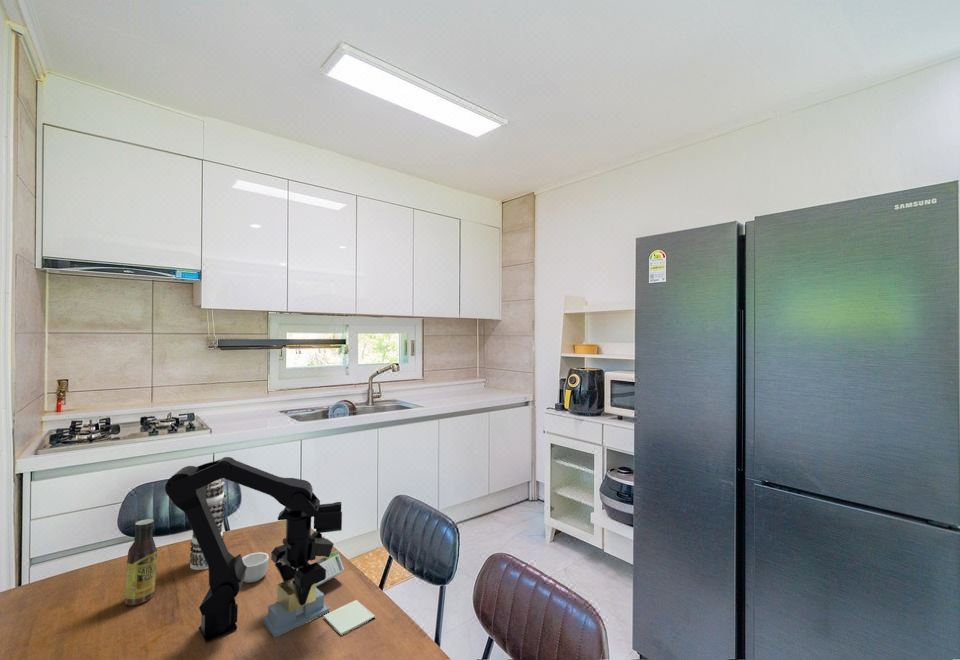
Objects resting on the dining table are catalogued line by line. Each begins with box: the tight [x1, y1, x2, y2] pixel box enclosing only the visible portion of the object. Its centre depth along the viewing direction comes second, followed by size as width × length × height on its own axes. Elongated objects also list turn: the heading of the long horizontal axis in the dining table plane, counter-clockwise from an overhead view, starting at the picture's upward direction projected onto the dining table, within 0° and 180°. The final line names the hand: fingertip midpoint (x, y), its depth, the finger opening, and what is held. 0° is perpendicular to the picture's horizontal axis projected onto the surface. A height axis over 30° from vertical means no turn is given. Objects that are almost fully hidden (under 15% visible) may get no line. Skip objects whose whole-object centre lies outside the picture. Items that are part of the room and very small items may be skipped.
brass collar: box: [276, 578, 317, 612], centre depth 105 cm, size 7×7×4 cm
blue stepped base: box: [262, 581, 330, 638], centre depth 105 cm, size 13×8×8 cm, turn 136°
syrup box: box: [281, 550, 346, 588], centre depth 116 cm, size 6×6×14 cm
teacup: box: [242, 551, 270, 584], centre depth 122 cm, size 10×8×5 cm
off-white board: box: [322, 599, 376, 636], centre depth 105 cm, size 9×9×1 cm
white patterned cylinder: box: [189, 479, 227, 571], centre depth 130 cm, size 9×9×25 cm
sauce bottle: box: [123, 518, 158, 606], centre depth 111 cm, size 6×6×20 cm
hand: (296, 598), depth 105 cm, fingers closed on brass collar, 7 cm apart
